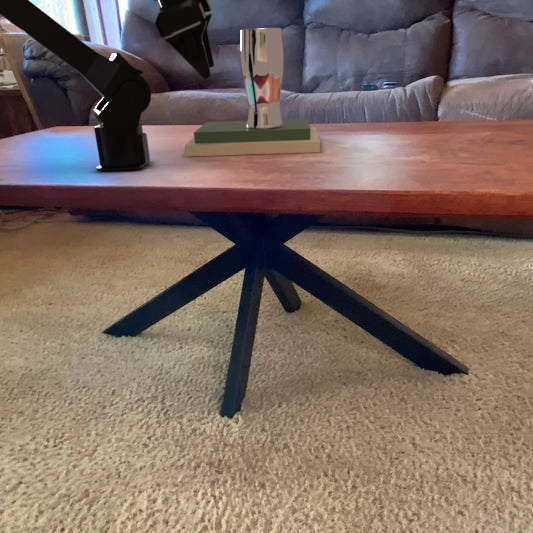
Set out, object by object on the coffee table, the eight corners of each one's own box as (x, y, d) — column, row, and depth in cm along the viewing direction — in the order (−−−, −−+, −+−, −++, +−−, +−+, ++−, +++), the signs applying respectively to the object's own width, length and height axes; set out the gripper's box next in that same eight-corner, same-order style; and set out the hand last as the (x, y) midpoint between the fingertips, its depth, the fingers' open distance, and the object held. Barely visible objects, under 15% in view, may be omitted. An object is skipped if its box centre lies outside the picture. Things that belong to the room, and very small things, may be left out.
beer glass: (269, 122, 91) (266, 30, 85) (293, 126, 85) (292, 27, 79) (236, 127, 87) (230, 30, 81) (259, 131, 82) (254, 28, 76)
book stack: (185, 156, 83) (183, 134, 82) (201, 140, 98) (199, 121, 97) (320, 152, 82) (320, 129, 81) (315, 136, 97) (315, 117, 96)
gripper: (214, -69, 61) (260, 61, 68) (220, -62, 77) (257, 43, 84) (130, -31, 62) (185, 92, 70) (153, -31, 78) (196, 69, 86)
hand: (209, 72), depth 77 cm, fingers open, 9 cm apart
